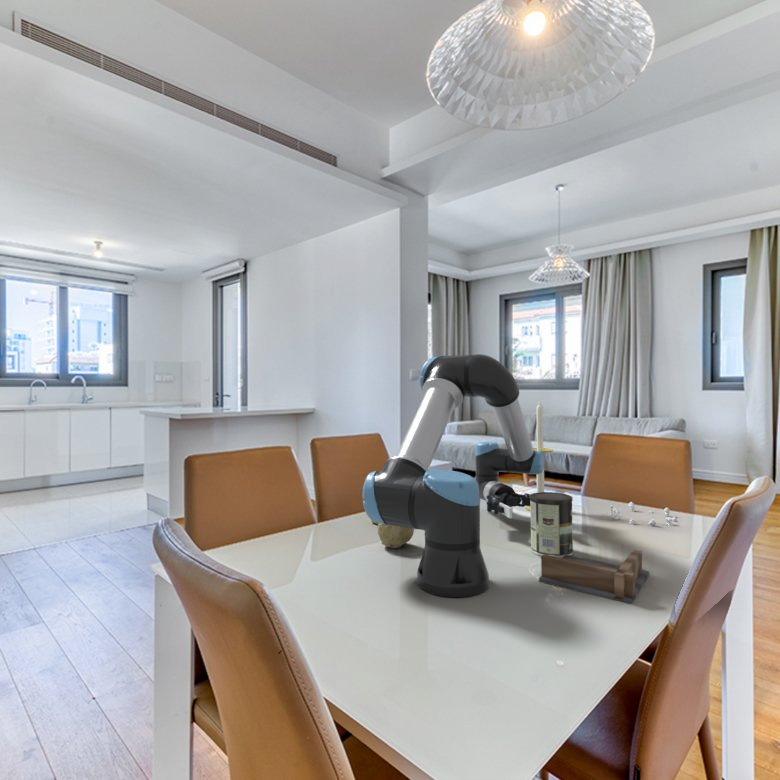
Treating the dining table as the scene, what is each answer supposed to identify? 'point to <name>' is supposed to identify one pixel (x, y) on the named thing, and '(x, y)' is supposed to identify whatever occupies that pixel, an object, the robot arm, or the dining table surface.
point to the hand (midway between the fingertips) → (534, 511)
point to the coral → (394, 535)
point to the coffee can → (551, 524)
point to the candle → (540, 447)
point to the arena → (596, 575)
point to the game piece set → (634, 518)
